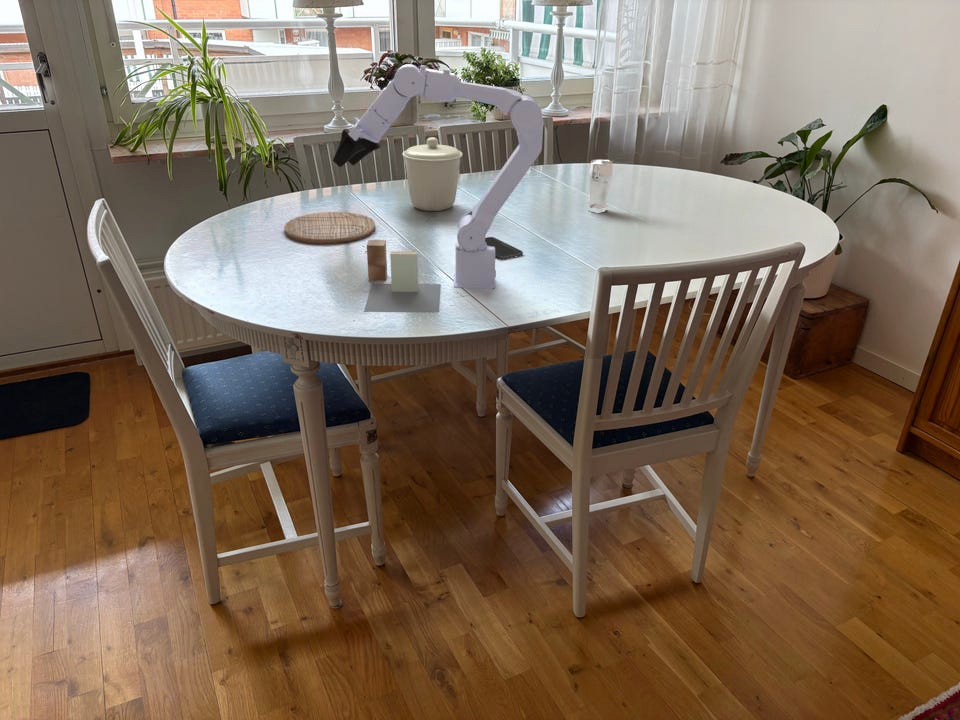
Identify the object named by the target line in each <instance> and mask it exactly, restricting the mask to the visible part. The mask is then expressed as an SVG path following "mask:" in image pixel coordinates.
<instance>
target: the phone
mask: <svg viewBox="0 0 960 720" xmlns="http://www.w3.org/2000/svg"><path fill="white" fill-rule="evenodd" d="M485 242H486V243H487V246H491V247H495V259H496V258H497V259H496V260H499V259H502V260H503V259H504V260H507V258H509V259H512V258H511V257H513V258H516V257H515V256H518V257H520V256H519V255H522V254H523V255H524V252H523V251H522V250H521V249H519V248H517V247H515V246H512V245H511V244H509V243H507V242H504V241H503V240H500V239H498V238H496V237H493V236H488V237H485ZM523 255H522V256H523ZM502 260H501V261H502Z"/></svg>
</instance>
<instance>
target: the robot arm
mask: <svg viewBox="0 0 960 720" xmlns="http://www.w3.org/2000/svg"><path fill="white" fill-rule="evenodd" d="M417 95H419V96H420V97H421V98H425V99H430V100H437V101H441V102H446V103H452V102H454V100H456V99H457V98H459V99H463V100H464V99H465V100H469V101H474V102H477V103H478V102H479V103H483V104H487V105H492V106H495V107H496V108H497V109H498V110H499V111H500V112H501V113H502V114H503V115H505V116H507V115H508V113H509V115H510V121H511V123H512V125H513V127H514V129H515V131H516V135H517V136H516V137H517V139H518V145H517V146H516V148H515V149H514V150H513V152H512V153H511V155H510V157H509V158H508V159H507V161H506V162H505V163H504V165H503V166H502V168H501V169H500V170H499V172H498V174H497V175H496V177H495V178H494V179H493V181H492V182H491V183H490V185H489V187H488V188H487V189H486V191H485V192H484V194H483V195H482V196H481V198H480V199H479V201H478V202H477V203H476V204H475V205H473V207H472V208H471V209H470V210H469V211H468V212H466V213H465V214H462V216H461V217H459V220H458V223H457V229H458V230H457V231H458V232H457V234H456V239H457V240H456V241H457V242H455V266H454V267H455V270H454V271H455V274H453V288H457V289H459V288H461V289H462V288H463V289H464V288H465V289H472V288H473V289H495V283H496V282H495V280H496V277H497V273H496V272H497V271H496V258H495V247H491V246H487V243H486V242H485V238H487V237H486V235H487V233H488V231H489V230H490V228H491V226H492V223H493V222H494V219H495V218H496V216H497V215H498V213H499V212H500V210H501V209H502V208H503V206H504V204H505V203H506V201H507V200H508V199H509V198H510V196H512V193H513V192H514V190H515V189H516V188H517V186H518V185H519V184H520V182H521V181H522V180H523V178H524V176H525V175H526V174H527V172H529V170H530V168H531V167H532V165H533V164H534V162H535V161H536V160H537V158H538V157H539V156H540V154H541V153H542V150H543V137H544V136H543V135H544V124H545V123H544V122H545V121H544V117H543V114H542V111H541V108H540V106H539V104H538V102H537V100H536V99H535V98H534V97H533V95H530V94H528V93H521V92H520V91H518V90H514V89H511V88H505V87H501V86H495V85H493V86H492V85H487V84H481V83H473V82H466V81H461V80H460V79H459V77H458V76H457V75H456V73H453V72H451V69H449V68H444V69H443V70H436V69H432V68H427V67H426V65H424V64H423V65H422V64H421V65H420V68H419V67H418V66H417V65H414V64H411V63H406V64H404V65H401V66H400V67H398V68H397V70H396V72H395V74H394V76H393V78H392V79H391V80H390V81H389V82H388V84H386V86H385V87H384V88H383V89H382V90H381V91H380V92H379V94H378V96H377V97H376V98H375V99H374V100H373V102H372V103H371V104H370V105H369V107H368V108H367V109H366V111H365V112H364V113H363V115H362V116H361V117H360V118H358V117H357V116H356V117H353V118H352V121H353V122H354V123H355V124H354V126H353V127H352V128H351V130H349V129H348V128H344V129H342V131H341V138H340V142H339V145H338V148H337V149H336V152H335V154H334V156H333V159H332V162H334V163H335V164H336V165H337V166H338V167H339V168H342V167H343V166H345V164H347V162H348V163H349V164H350V165H351V166H355V165H356V164H358V163H359V162H360V161H362V160H363V159H364V158H365V157H366V156H367V155H369V154H371V153H372V152H374V151H376V150H379V149H381V144H380V143H379V142H380V141H381V139H382V137H383V136H384V135H385V134H386V132H387V130H389V128H390V127H391V126H392V124H393V123H394V122H395V121H396V119H397V118H398V117H399V116H400V114H401V113H402V112H403V110H404V109H405V108H406V105H407V103H408V102H409V101H410V100H411V98H413V97H415V96H417Z"/></svg>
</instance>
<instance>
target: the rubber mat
mask: <svg viewBox="0 0 960 720" xmlns="http://www.w3.org/2000/svg"><path fill="white" fill-rule="evenodd" d="M418 284H419V290H418V292H392V285H391V283H371V286H370V290H369V293H368V296H367V299H366V302H365V306H364V310H363V312H365V313H368V312H369V313H372V312H373V313H439V312H440V303H441V302H440V301H441V288H442V284H441V283H418Z"/></svg>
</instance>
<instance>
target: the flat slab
mask: <svg viewBox="0 0 960 720" xmlns="http://www.w3.org/2000/svg"><path fill="white" fill-rule="evenodd" d="M389 254H390V255H389V256H390V257H389V258H390V281H391V283H390V284H391V285H392V292H418V290H419V284H420V283H419V255H418V254H419V251H400V250H399V251H390V252H389Z"/></svg>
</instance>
